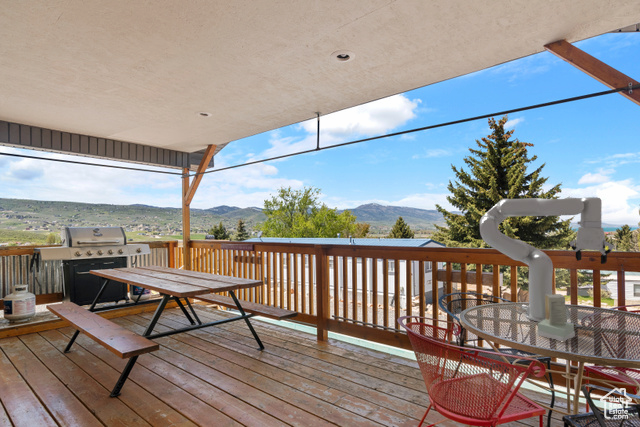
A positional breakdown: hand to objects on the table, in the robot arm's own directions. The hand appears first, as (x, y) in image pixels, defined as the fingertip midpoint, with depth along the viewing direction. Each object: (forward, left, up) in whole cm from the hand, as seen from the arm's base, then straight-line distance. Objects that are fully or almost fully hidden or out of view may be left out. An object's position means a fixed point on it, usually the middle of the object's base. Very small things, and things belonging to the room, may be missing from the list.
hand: (590, 261), depth 163 cm
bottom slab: (-2, -27, -29) cm, 40 cm away
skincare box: (-2, -27, -23) cm, 36 cm away
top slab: (-2, -27, -26) cm, 38 cm away
